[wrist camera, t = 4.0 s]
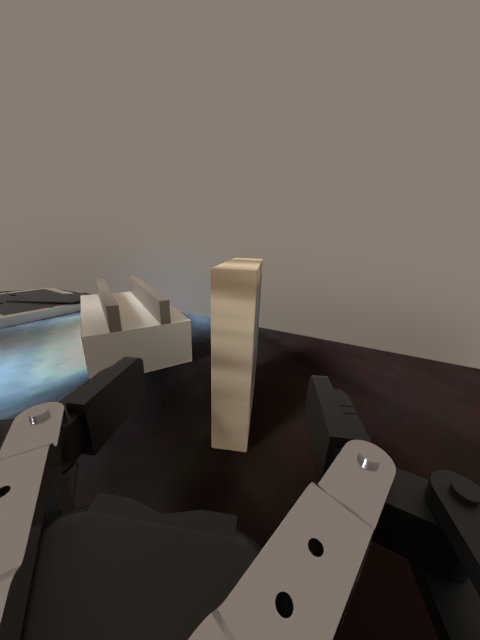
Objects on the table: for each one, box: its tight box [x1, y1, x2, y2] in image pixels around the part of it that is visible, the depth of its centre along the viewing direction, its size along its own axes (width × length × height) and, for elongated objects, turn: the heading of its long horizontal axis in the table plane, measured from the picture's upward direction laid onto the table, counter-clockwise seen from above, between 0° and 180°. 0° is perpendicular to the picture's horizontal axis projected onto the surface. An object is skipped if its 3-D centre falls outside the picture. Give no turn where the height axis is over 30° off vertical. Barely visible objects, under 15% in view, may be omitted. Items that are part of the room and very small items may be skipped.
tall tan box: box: [211, 258, 262, 452], centre depth 18 cm, size 9×2×12 cm, turn 173°
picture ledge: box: [80, 276, 192, 379], centre depth 30 cm, size 18×10×8 cm, turn 33°
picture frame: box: [0, 287, 92, 328], centre depth 45 cm, size 16×3×21 cm
